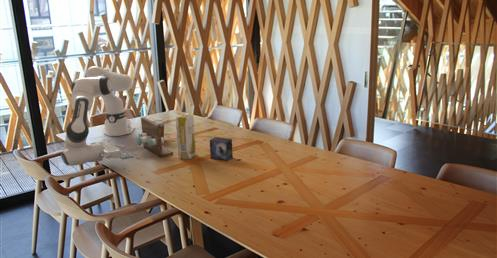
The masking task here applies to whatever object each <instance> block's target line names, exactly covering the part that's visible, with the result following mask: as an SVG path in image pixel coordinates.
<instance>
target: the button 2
mask: <svg viewBox="0 0 497 258" xmlns="http://www.w3.org/2000/svg"><path fill="white" fill-rule="evenodd" d="M161 141H162V145H164V143H165V137H164V138H163V137H161ZM148 145H149V147H152V146H153V145H157V140H156V138H154V139H148Z"/></svg>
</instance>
